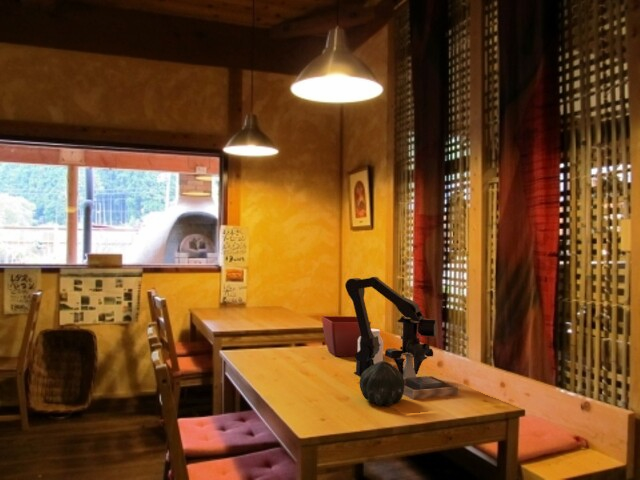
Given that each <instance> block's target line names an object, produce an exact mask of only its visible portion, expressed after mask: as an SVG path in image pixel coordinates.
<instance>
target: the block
mask: <svg viewBox="0 0 640 480" xmlns="http://www.w3.org/2000/svg"><path fill="white" fill-rule="evenodd" d="M406 386H407V387H409V388H411V389H413V390H423V389H435V388H441V382H439V381H437V380H434V379H432V378H430V377H429V376H416V377H412V378H406Z"/></svg>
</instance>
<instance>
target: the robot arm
mask: <svg viewBox="0 0 640 480" xmlns="http://www.w3.org/2000/svg"><path fill="white" fill-rule="evenodd" d="M366 288H372V289H374V290H375V291H376V292H378V294H380V295H382V296H383V297H384V298H386V299H387V300H388V301H389V302H390V303H392V304H393V305H394V306H395V307H396V309H397V310H398V311H399V313H401V314H402V316H401V317H400V318H399V319H398V320H397V322H398V323H400V324H401V323H402V335H400V339H401V341H402V342H401V345H402V346H400V347H399V349H398V348H394V347H393V348H386V350H385V351H384V356H385V357H387V358H389V359H393V361H394V363H395V364H396V366H397V367H396V368H397V369H398V370H399V371H400V373H401V374H402V375H403V369H404V362H405V361H406V358H404V356H405V355H413V356H414V357H413V367H414V370H415V374H416V375H418V373H419V371H420V367H421V365H422V363H423V361H425V360H427V359H428V358H429V357H433V356H434V350H433V349H432V348H430V344H429V343H426V342H425V343H420V337H418V334H419V335H420V336H421V337H429V338H437V336H438V333H439V331H438V330H439V326H438V323H437V319H436V318H431V319H430V318H425V316H424V314H422V312H421V309H420V305H419V304H418V303H417V302H415V301H414V300H411V299H409V298H407V297H405V296H403V295H401V294H400V293H398V292H397V291H395V290H394V289H393V288H391V287H390V286H389V285H387V284H386V283H385V282H384V281H382V280H381V279H380V278H379V277H378V276H371V277H368V278H362V279H361V278H359V277H355V278H349V279H347V280H346V281H345V290H346V293H347V295H348V297H349V298H350V299H351V301H352V303H353V309H354V312H355V317H357V321H358V326H359V330H360V334H361V338H360V351H359V352H358V353H356V354H355V356H354V359H355V361H356V365H355V371H354V372H353V373H354V375H357V376H358V377H361V375H362V373H363V372H364V371H365V370H366V369H367V368H369V367H370V366H372V365H374V363H373V361H374V360H373V358H374V357H375V355H376V354H377V353H378V352H379V346H380V344H379V341H378V336H376V337H374V335H373V334H372V331H371V328H372V327H371V324H370V323H369V322H370V320H369V316H368V311H367V307H366V303H365V293H366V291H365V289H366Z"/></svg>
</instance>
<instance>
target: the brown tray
mask: <svg viewBox="0 0 640 480" xmlns="http://www.w3.org/2000/svg"><path fill="white" fill-rule="evenodd" d="M428 377H430V378H432V379H434V380H437V381H439V382H441V388H435V389H423V390H413V389H411V388H409V387H407V386H406V378H404V383H405V386H404V393H403V396H406V397H407V398H409V399H411V400H413V401H415V400H426V399H432V398H433V399H436V398H437V399H438V398H447V397H455V396H456V397H458V395H459V394H458V393H459V390H458V389H459V386H456V385H454V384H451V383H449V382H446V381H444V380H441V379H439V378H437V377H434V376H432V375H431V376H428Z"/></svg>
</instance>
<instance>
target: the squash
mask: <svg viewBox="0 0 640 480" xmlns="http://www.w3.org/2000/svg"><path fill="white" fill-rule="evenodd" d="M404 386H405V383H404V378H403V376H402V374H401V373H400V371H399V370H398V367H395V366H394V365H392V364H391V363H390V362H388V361H386V360H383V361H381V362H378V363H376V364H374V365H372V366H370V367H369V368H367V369H366V370H365V371H364V372H363V373H362V375H361V376H360V378H359V388H360V391H361V394H362V396H363V398H364V399H365V400H367V401H370V402H372V403H375V404H376V405H377V406H383V405H384V406H386V407H389V406H390V405H392V404H398V403H400V401H401V400H402V398H403V396H404V395H403V393H404Z"/></svg>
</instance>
